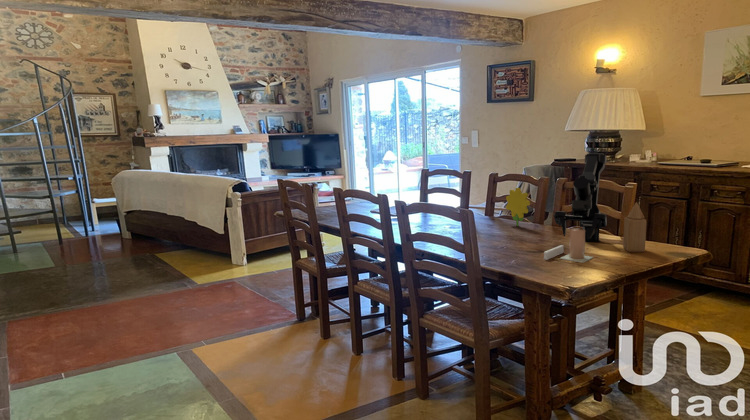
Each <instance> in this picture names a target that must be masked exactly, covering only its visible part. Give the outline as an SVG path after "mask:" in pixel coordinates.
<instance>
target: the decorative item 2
mask: <svg viewBox="0 0 750 420" xmlns="http://www.w3.org/2000/svg"><path fill="white" fill-rule="evenodd" d="M638 203H639V202H637V201H636V202H635V203H634V205H633V206H632V208H631V210H630V211H629V213H628V214H627V216H625V217H624V218H623V219H624V220H623V221H624V222H623V224H624V225H623V238H622V239H623V240H622V241H623V243H622V247H623V249H624V250H625V251H627V252H629V253H632V252H633V253H636V252H637V253H644V252H645V251H646V237H647V235H646V234H647V219H645V216H644V214H643V212H642V209H641V207H640V206H639V204H638Z"/></svg>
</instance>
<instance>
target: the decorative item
mask: <svg viewBox="0 0 750 420" xmlns="http://www.w3.org/2000/svg"><path fill="white" fill-rule="evenodd" d="M528 195H529V194H528V192H522V189H521V188H520V187H515V189H510V190H509V195H507V196H505V199H506V201H507V204H506V205H505V209H506V210H508V211H511V217H512V220H513V221H516V222H515V223H516V226H517V227H519V221H520V222H523V220H524V216H525V215H524V214H528V213H529V209H528V206H530V205H531V201H530V200H529V199H528Z"/></svg>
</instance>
